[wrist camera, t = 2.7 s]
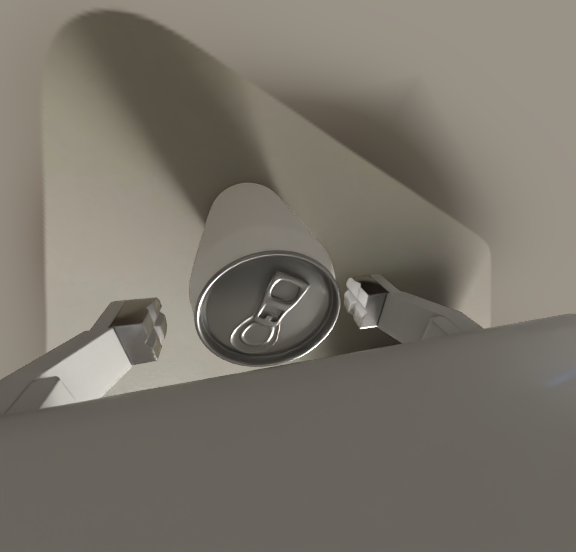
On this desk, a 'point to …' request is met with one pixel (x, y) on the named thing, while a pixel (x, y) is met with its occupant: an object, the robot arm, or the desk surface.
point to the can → (260, 281)
